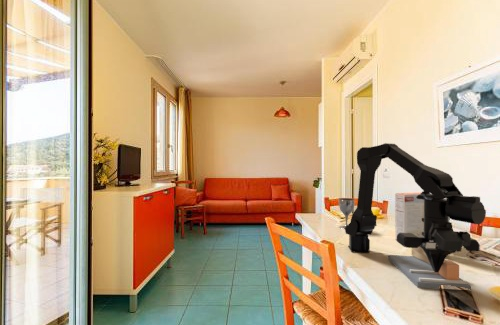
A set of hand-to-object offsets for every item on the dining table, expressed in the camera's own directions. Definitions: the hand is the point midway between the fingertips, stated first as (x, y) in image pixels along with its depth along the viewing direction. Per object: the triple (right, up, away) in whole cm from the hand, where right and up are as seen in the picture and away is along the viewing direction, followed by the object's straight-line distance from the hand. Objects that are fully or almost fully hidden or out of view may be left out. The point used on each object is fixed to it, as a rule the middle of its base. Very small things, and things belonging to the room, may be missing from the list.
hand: (435, 271), depth 72 cm
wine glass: (-2, -4, +62) cm, 62 cm away
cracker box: (+19, -4, +40) cm, 44 cm away
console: (+1, -3, +6) cm, 7 cm away
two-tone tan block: (+5, -1, +12) cm, 13 cm away
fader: (+3, -1, 0) cm, 4 cm away
